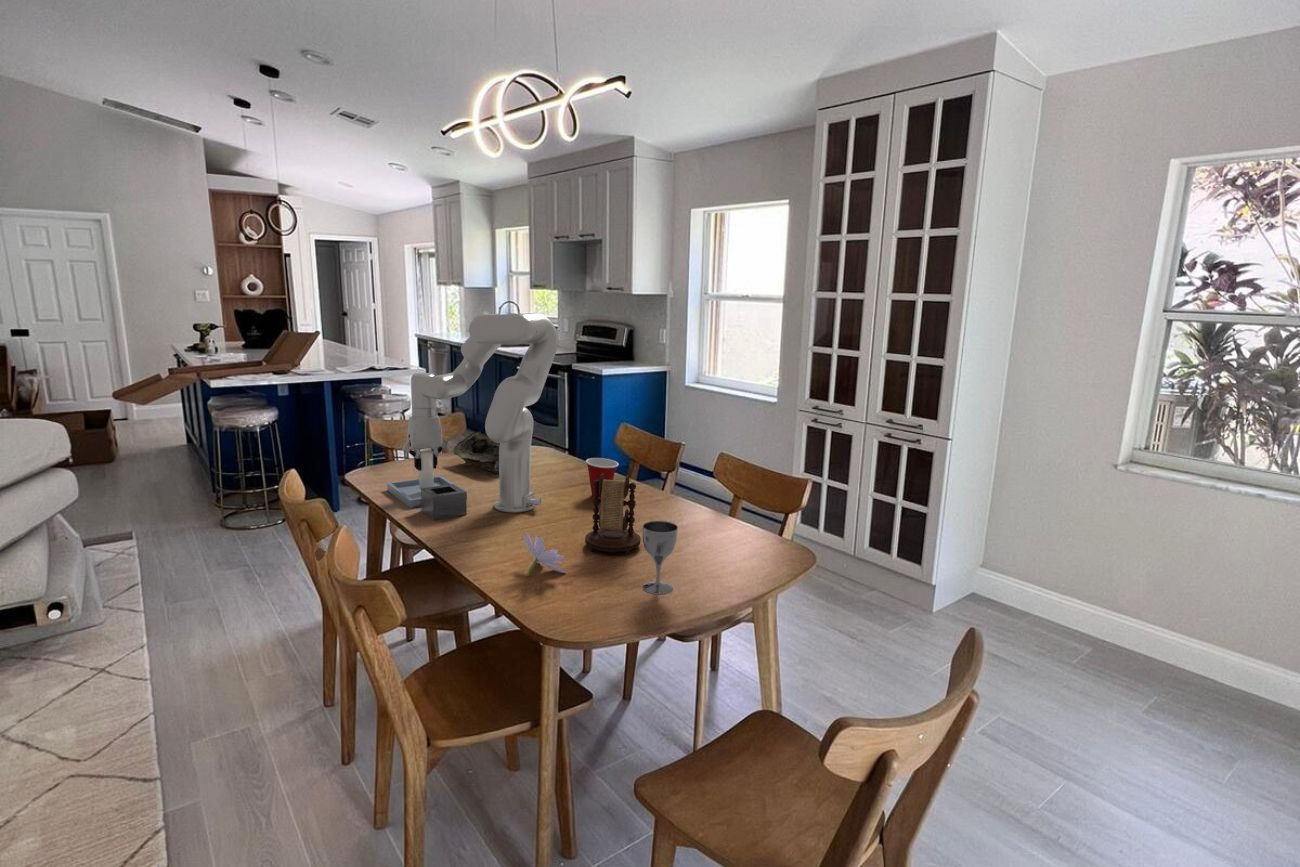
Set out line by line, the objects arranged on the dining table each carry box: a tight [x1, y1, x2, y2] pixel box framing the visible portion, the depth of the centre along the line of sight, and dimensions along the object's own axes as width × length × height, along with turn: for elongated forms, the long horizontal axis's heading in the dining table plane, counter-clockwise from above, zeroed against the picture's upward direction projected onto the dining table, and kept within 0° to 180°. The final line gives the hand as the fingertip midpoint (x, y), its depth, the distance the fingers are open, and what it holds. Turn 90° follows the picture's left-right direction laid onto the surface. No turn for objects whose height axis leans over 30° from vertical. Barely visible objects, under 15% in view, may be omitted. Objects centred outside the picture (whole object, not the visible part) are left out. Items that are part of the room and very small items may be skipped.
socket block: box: [420, 483, 468, 521], centre depth 205 cm, size 10×10×7 cm
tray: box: [386, 475, 468, 509], centre depth 222 cm, size 22×18×2 cm
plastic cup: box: [585, 457, 619, 499], centre depth 227 cm, size 11×11×12 cm
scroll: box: [584, 473, 642, 556], centre depth 182 cm, size 15×15×20 cm
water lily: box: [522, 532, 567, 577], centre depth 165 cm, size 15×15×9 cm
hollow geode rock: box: [452, 431, 500, 475], centre depth 256 cm, size 28×13×15 cm
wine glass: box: [641, 520, 679, 595], centre depth 158 cm, size 8×8×15 cm
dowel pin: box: [418, 449, 435, 489], centre depth 221 cm, size 4×4×12 cm
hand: (426, 468), depth 221 cm, fingers closed on dowel pin, 4 cm apart
